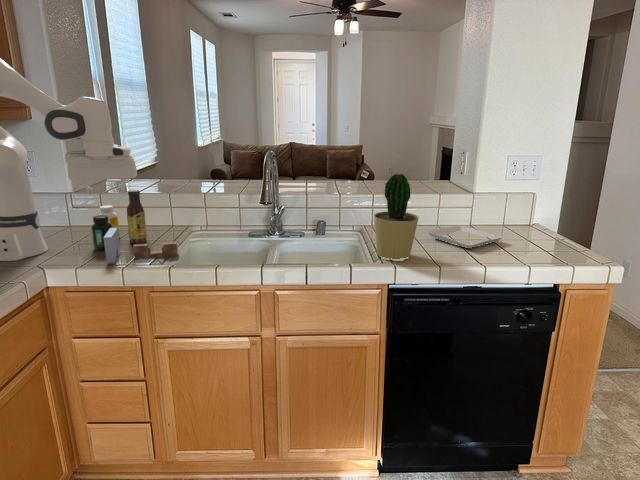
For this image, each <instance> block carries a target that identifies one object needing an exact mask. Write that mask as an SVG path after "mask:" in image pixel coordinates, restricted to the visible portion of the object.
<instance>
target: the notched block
mask: <svg viewBox="0 0 640 480" xmlns="http://www.w3.org/2000/svg"><path fill="white" fill-rule="evenodd" d="M132 247H133V256H134V258H133V259H135V260H141V259H140V258H142V259H153V258H154V259H155V258H156V259H157V258H167V257H168V258H170V257H178V256H179V252H178V242H177V241H169V242H168V241H167V242H163V243H162V245H161V250H158V251H156V250H155V251H151V246H150V245H149V243H133V246H132Z"/></svg>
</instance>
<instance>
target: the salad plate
mask: <svg viewBox="0 0 640 480" xmlns="http://www.w3.org/2000/svg"><path fill="white" fill-rule="evenodd" d="M459 230H460V231H465V232H469V233H472V234H476V235H480V236H484V237H488V238H492V239H491V240H487V241H483V242H480V243H477V244H473V245H467V244H463V243H461V242H458V241H455V240H453V239H450V238H447V237H443V236H442V235H446V234H450V233H452V232H456V231H459ZM427 234H428V235H429V236H430V237H432V238H434V239H435V238H436V240H438V239H440V240H443V241H447V242H450V243H454V244H457V245H461V246H463V247H467V248H471V249H473V248H472V247H475V246H478V245H482V244H486V243H490V242H494V243H496V242H495V241H497V242H499V241H501V239H502V238H503V236H500V235H497V234H493V233H490V232H486V231H483V230H479V229H475V228H472V227H471V228H470V227H467V226H463V225H455V226H454V225H453V226H450V227H443V228H438V229H433V230H428V231H427ZM440 240H439V241H440ZM490 244H491V243H490ZM475 248H476V247H475Z"/></svg>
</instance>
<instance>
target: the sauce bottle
mask: <svg viewBox="0 0 640 480" xmlns="http://www.w3.org/2000/svg"><path fill="white" fill-rule="evenodd" d="M140 194H141V191H140V190H138V189H129V190H128V191H127V195H128V202H129V204H128V205H127V206H126V214H127V216H126V219H127V220H126V221H127V228H128V229H127V230H128V238H129V242H130V243H131V244H144V243H146V241H147V237H148V236H147V227H146V226H147V225H146V224H147V223H146V213H145V209H144V207H143V205H142V203H141V199H140V197H141V196H140Z"/></svg>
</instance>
